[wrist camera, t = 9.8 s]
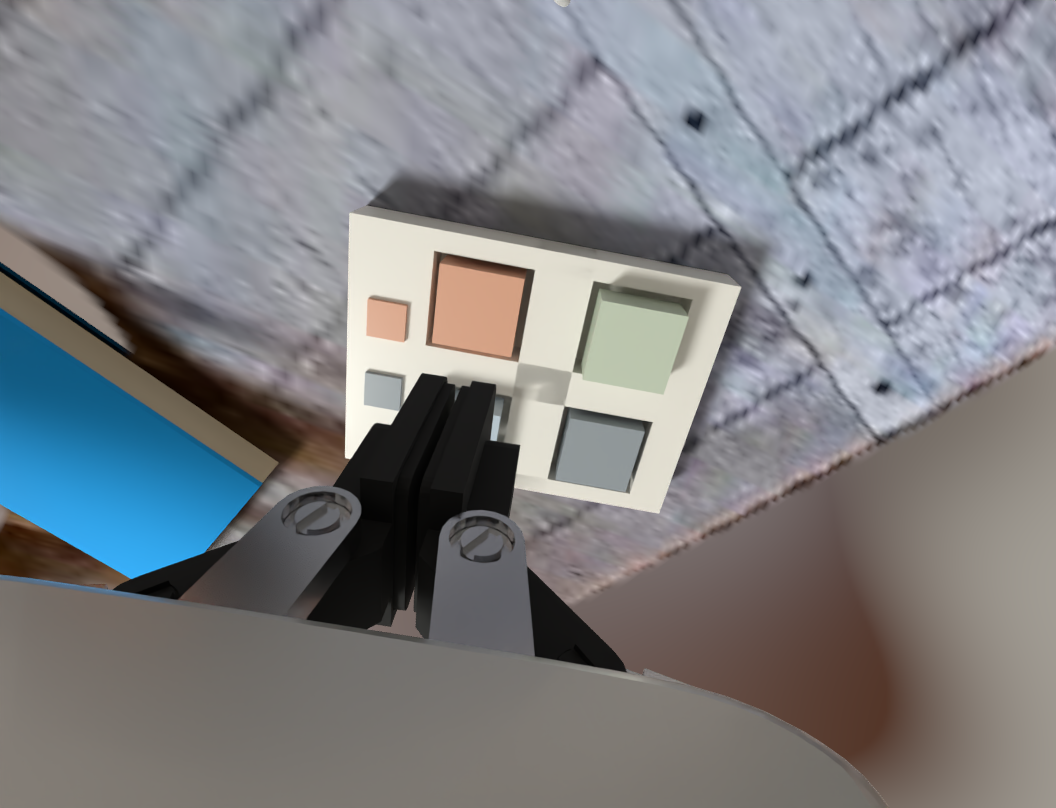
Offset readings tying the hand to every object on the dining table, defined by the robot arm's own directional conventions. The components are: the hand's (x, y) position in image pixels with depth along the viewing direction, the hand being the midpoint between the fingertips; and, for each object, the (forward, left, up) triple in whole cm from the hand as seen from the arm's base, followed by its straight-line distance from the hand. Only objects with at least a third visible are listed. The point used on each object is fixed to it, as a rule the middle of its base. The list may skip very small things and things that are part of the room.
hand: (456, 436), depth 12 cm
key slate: (-8, +13, -23) cm, 28 cm away
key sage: (-8, +4, -22) cm, 23 cm away
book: (+31, +21, -25) cm, 45 cm away
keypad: (-2, +8, -24) cm, 26 cm away
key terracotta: (+2, +4, -23) cm, 24 cm away
